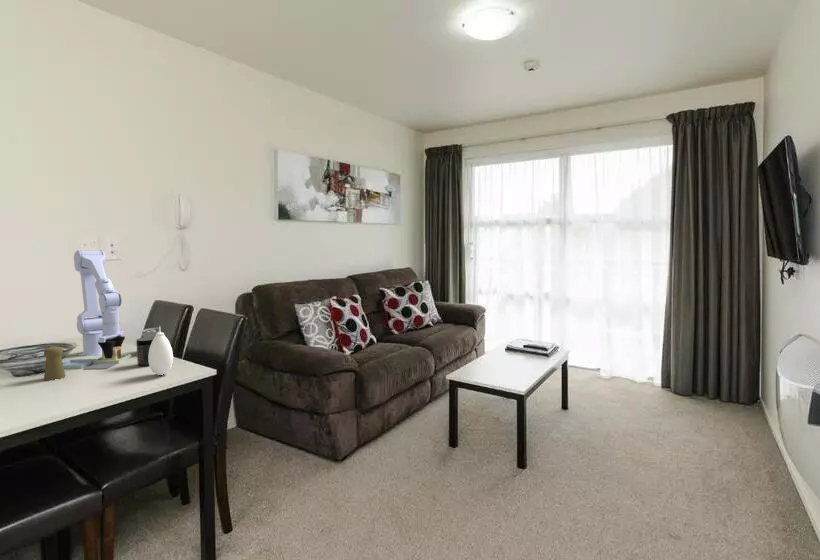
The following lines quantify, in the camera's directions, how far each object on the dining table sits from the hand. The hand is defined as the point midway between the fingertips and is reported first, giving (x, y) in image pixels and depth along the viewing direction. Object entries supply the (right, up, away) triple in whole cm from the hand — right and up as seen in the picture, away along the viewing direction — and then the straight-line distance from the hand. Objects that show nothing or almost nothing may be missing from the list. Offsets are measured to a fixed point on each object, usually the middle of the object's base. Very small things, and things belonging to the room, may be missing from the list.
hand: (112, 356), depth 181 cm
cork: (-5, -4, -23) cm, 24 cm away
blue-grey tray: (-9, -2, -7) cm, 12 cm away
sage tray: (0, -2, 0) cm, 2 cm away
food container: (+7, -1, +14) cm, 16 cm away
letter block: (0, -2, 0) cm, 2 cm away
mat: (+2, -3, -9) cm, 10 cm away
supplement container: (+17, -3, -6) cm, 18 cm away
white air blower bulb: (+30, -4, -18) cm, 35 cm away
